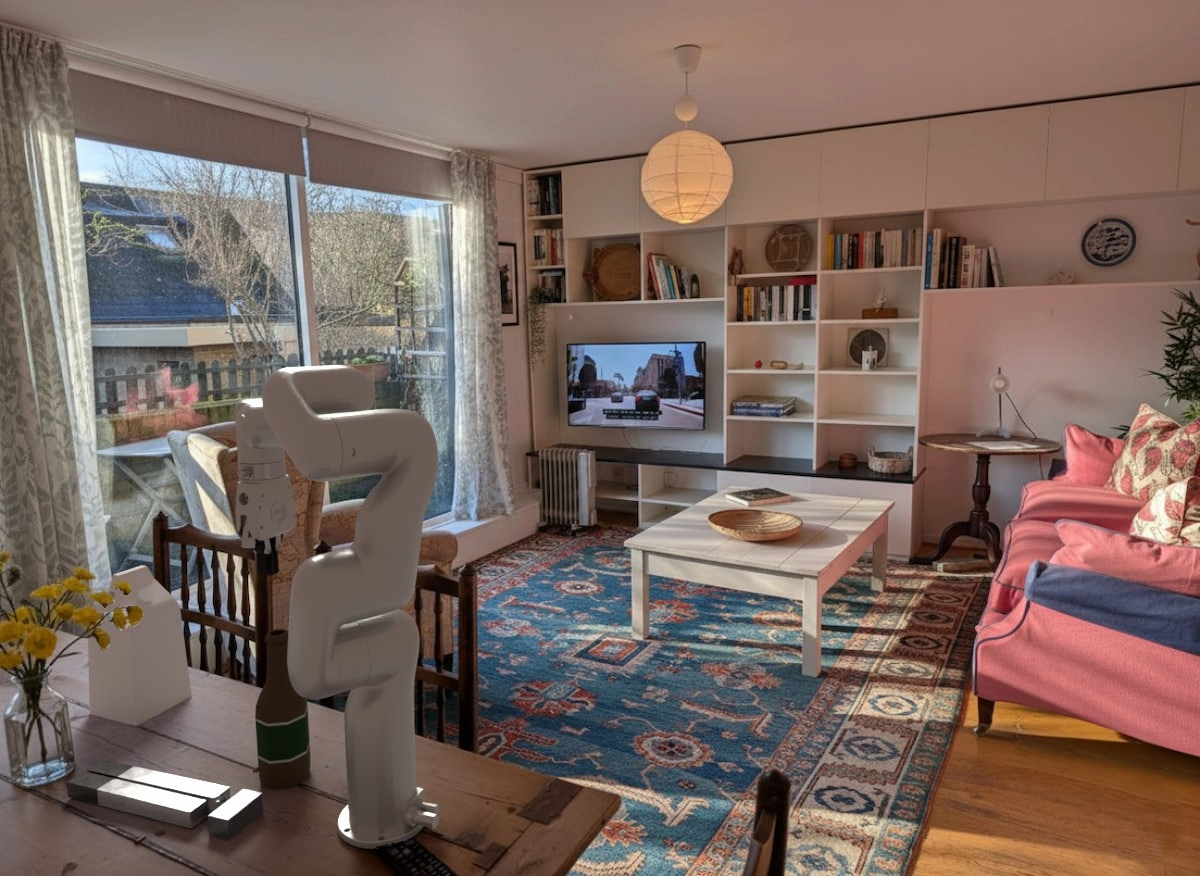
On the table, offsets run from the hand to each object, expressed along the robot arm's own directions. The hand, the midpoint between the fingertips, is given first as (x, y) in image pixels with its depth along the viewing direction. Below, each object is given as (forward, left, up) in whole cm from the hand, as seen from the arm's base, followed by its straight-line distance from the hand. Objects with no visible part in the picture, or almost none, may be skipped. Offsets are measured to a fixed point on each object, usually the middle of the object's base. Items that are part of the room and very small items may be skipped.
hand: (268, 573), depth 143 cm
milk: (+27, +4, -27) cm, 39 cm away
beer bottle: (-14, +15, -27) cm, 34 cm away
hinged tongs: (-2, +27, -27) cm, 38 cm away
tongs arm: (0, +26, -27) cm, 37 cm away
